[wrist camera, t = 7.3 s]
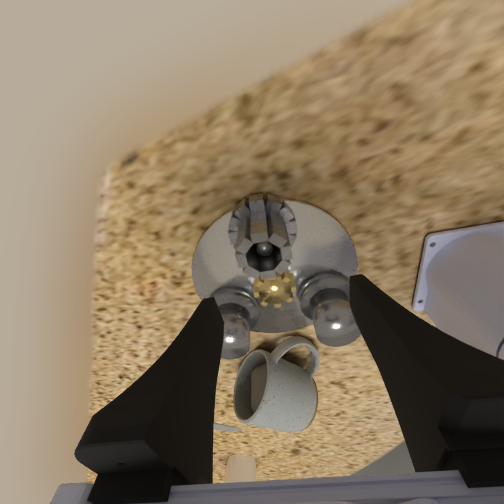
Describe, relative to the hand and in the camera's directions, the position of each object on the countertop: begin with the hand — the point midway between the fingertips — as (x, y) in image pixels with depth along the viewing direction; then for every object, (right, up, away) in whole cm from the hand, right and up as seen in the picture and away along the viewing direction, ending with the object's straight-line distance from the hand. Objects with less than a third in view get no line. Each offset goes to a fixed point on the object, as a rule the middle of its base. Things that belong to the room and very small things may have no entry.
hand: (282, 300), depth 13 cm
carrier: (0, 0, +11) cm, 12 cm away
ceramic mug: (+2, -11, +19) cm, 22 cm away
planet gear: (-1, +5, +8) cm, 9 cm away
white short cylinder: (-4, -40, +37) cm, 55 cm away
